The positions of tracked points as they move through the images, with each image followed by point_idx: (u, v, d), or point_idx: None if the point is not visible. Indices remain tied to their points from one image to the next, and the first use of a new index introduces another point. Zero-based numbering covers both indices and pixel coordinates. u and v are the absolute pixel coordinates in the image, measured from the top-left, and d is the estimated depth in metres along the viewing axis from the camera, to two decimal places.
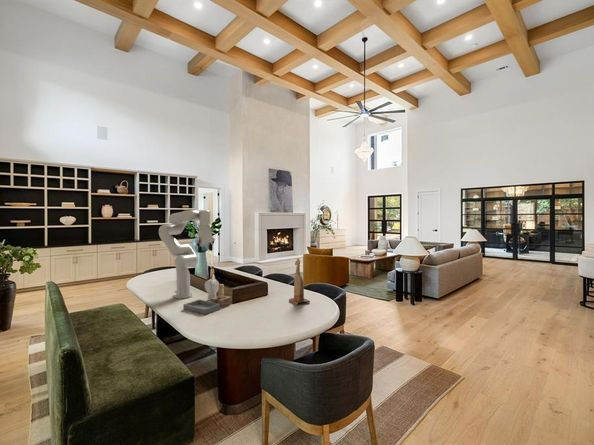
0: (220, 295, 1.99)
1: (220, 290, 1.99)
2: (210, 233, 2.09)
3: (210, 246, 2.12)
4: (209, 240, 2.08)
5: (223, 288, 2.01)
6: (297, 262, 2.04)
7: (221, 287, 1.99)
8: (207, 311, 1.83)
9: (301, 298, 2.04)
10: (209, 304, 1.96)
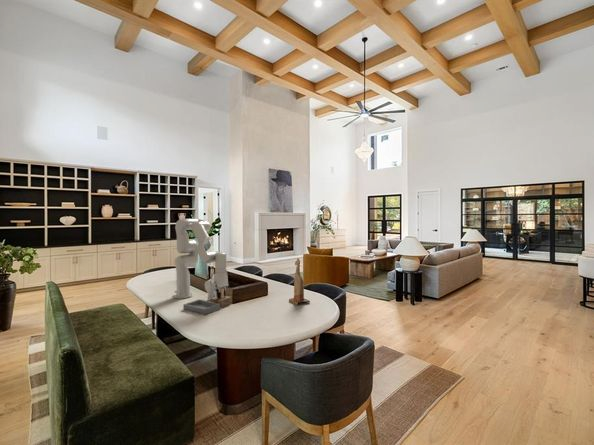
0: None
1: (220, 290, 1.99)
2: (226, 276, 2.02)
3: None
4: (225, 283, 2.01)
5: (223, 288, 2.01)
6: (297, 262, 2.04)
7: (221, 287, 1.99)
8: (207, 311, 1.83)
9: (301, 298, 2.04)
10: (209, 304, 1.96)
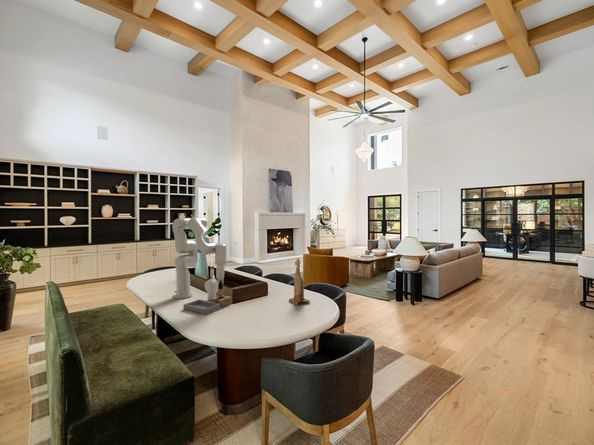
0: None
1: None
2: None
3: None
4: None
5: None
6: (297, 262, 2.04)
7: None
8: (207, 311, 1.83)
9: (301, 298, 2.04)
10: (209, 304, 1.96)
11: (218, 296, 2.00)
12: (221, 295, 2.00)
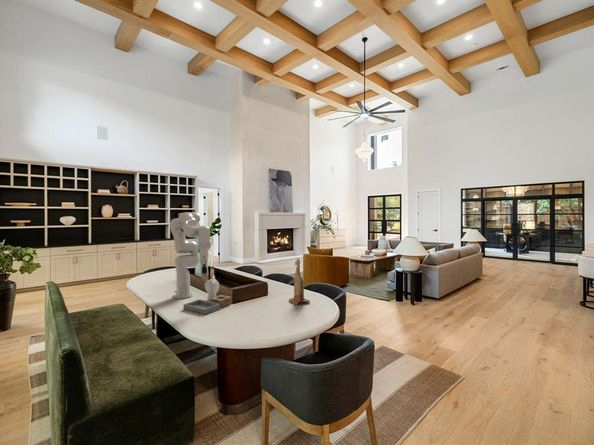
0: None
1: None
2: None
3: None
4: None
5: None
6: (297, 262, 2.04)
7: None
8: (207, 311, 1.83)
9: (301, 298, 2.04)
10: (209, 304, 1.96)
11: (202, 281, 1.91)
12: (205, 280, 1.91)
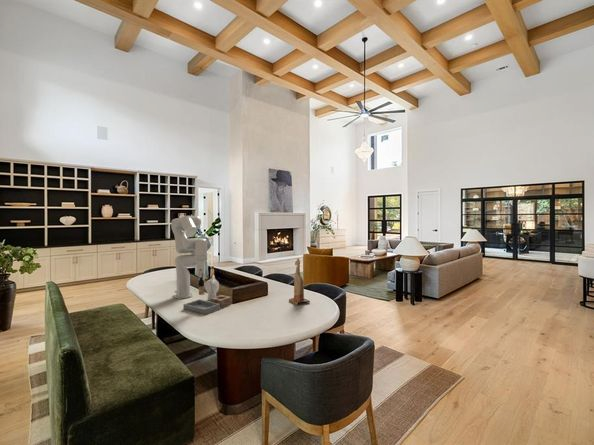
0: None
1: None
2: None
3: None
4: None
5: None
6: (297, 262, 2.04)
7: None
8: (207, 311, 1.83)
9: (301, 298, 2.04)
10: (209, 304, 1.96)
11: (199, 294, 1.90)
12: (202, 293, 1.90)
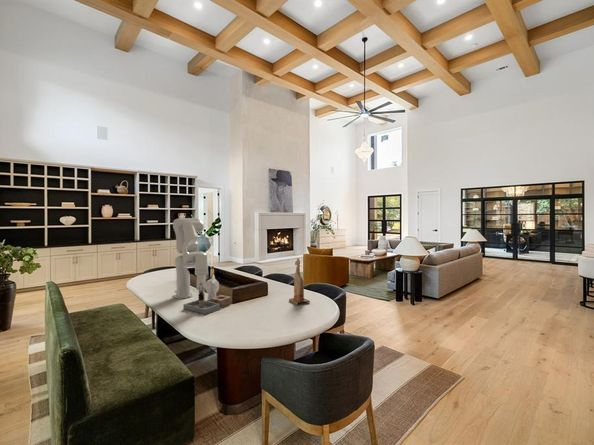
0: None
1: None
2: None
3: None
4: None
5: (204, 290, 1.93)
6: (297, 262, 2.04)
7: None
8: (207, 311, 1.83)
9: (301, 298, 2.04)
10: (209, 304, 1.96)
11: None
12: (202, 307, 1.90)
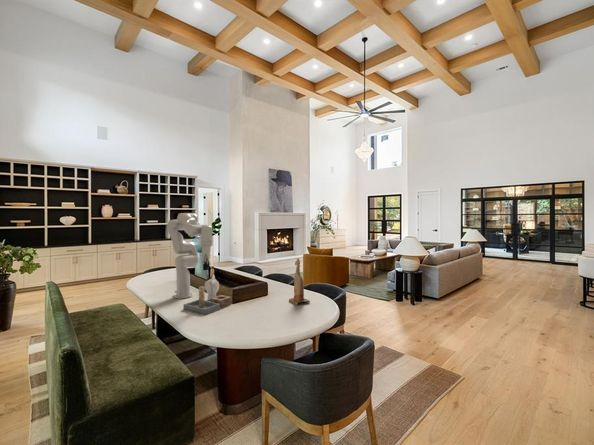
0: (202, 298, 1.90)
1: (202, 292, 1.90)
2: None
3: None
4: None
5: None
6: (297, 262, 2.04)
7: (203, 289, 1.91)
8: (207, 311, 1.83)
9: (301, 298, 2.04)
10: (209, 304, 1.96)
11: None
12: (202, 307, 1.90)
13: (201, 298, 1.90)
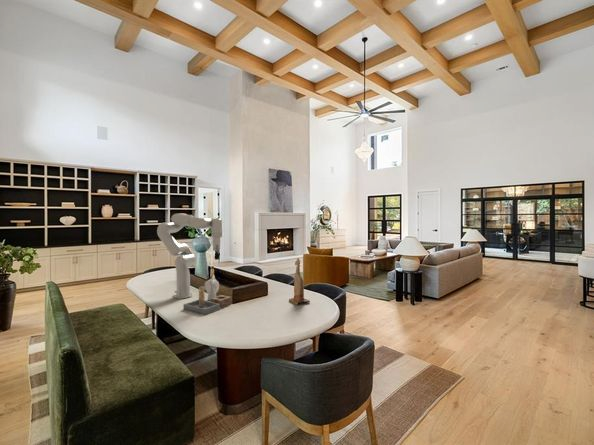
0: (202, 298, 1.90)
1: (202, 292, 1.90)
2: None
3: None
4: None
5: None
6: (297, 262, 2.04)
7: (203, 289, 1.91)
8: (207, 311, 1.83)
9: (301, 298, 2.04)
10: (209, 304, 1.96)
11: None
12: (202, 307, 1.90)
13: (201, 298, 1.90)
